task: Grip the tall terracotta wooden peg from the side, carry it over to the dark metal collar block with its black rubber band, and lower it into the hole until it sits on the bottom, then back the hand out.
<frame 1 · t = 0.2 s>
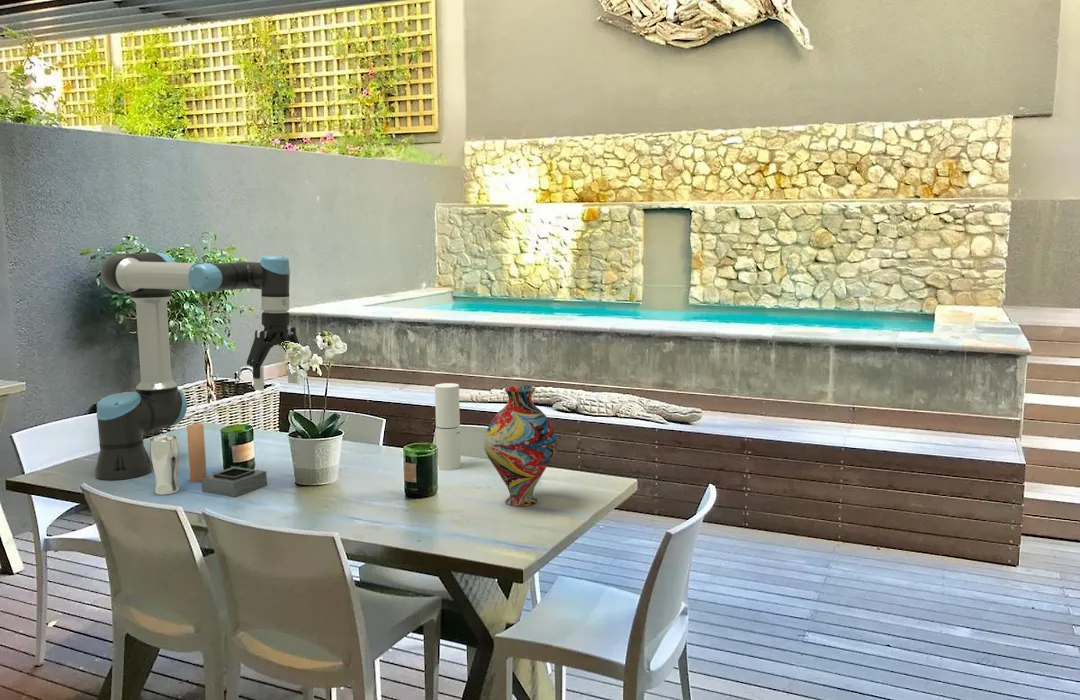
hand: (276, 386, 239), 27 cm above the table, fingers open, 13 cm apart
collar block: (235, 488, 235), on the table
beer glass: (167, 492, 233), on the table
cylindrical container: (448, 467, 255), on the table
terracotta peg: (198, 479, 244), on the table
vase: (521, 502, 222), on the table
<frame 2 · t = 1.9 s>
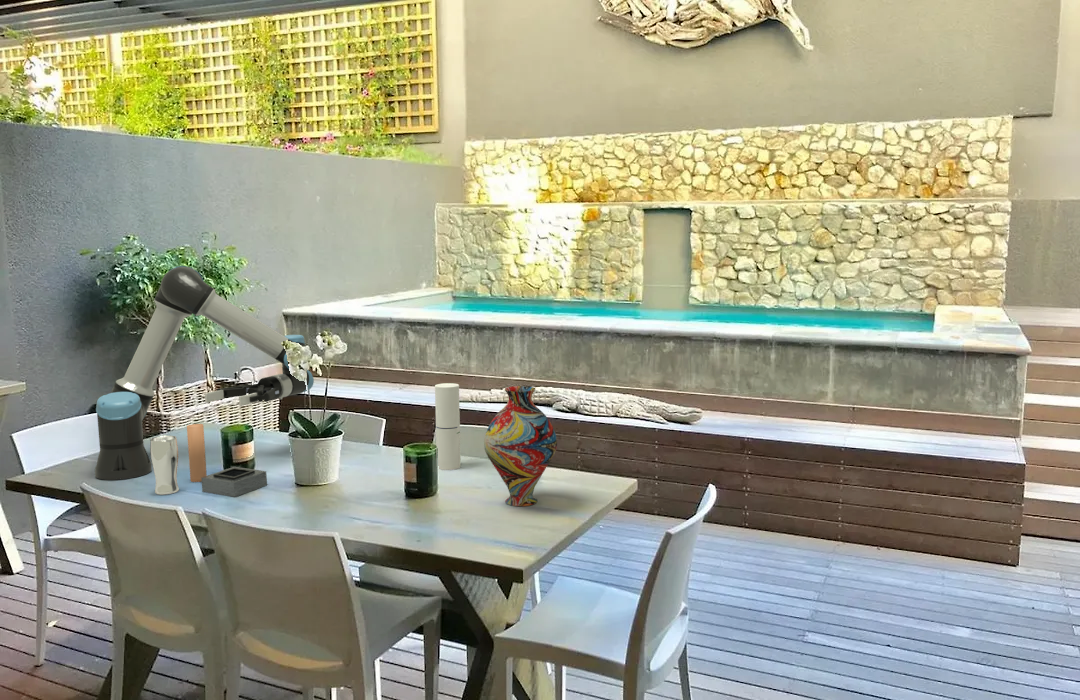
hand: (222, 399, 250), 22 cm above the table, fingers open, 13 cm apart
nothing on the table moved.
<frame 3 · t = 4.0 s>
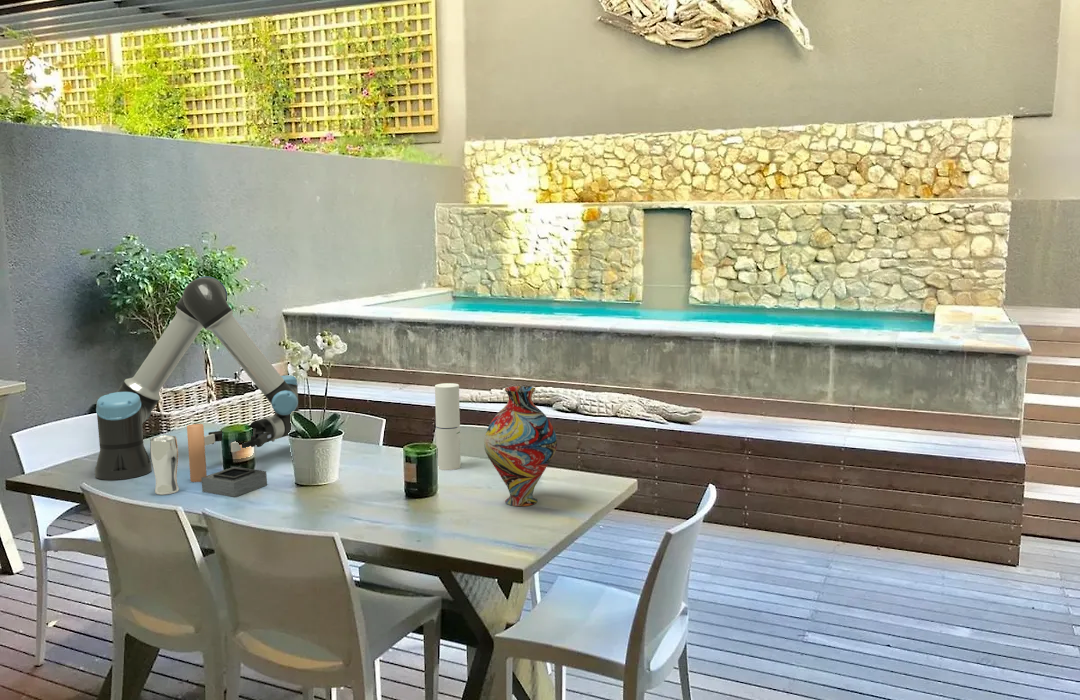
hand: (214, 445, 247), 9 cm above the table, fingers open, 13 cm apart
nothing on the table moved.
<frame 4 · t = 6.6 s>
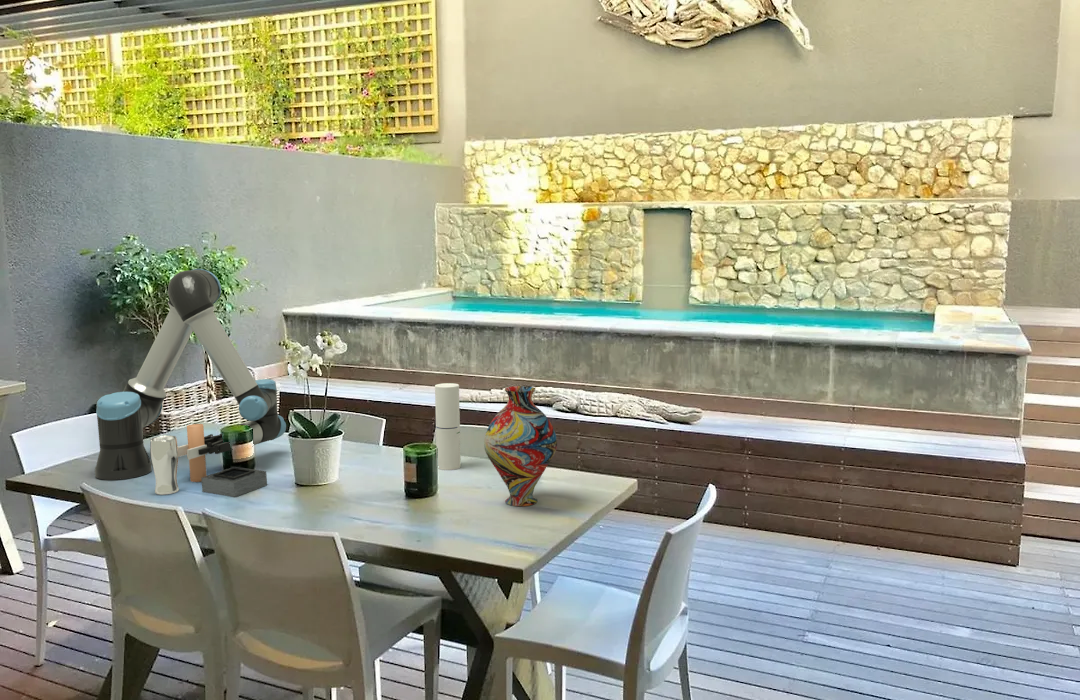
hand: (181, 453, 238), 9 cm above the table, fingers closed on terracotta peg, 4 cm apart
terracotta peg: (198, 479, 244), on the table, touching gripper
everything else where it was.
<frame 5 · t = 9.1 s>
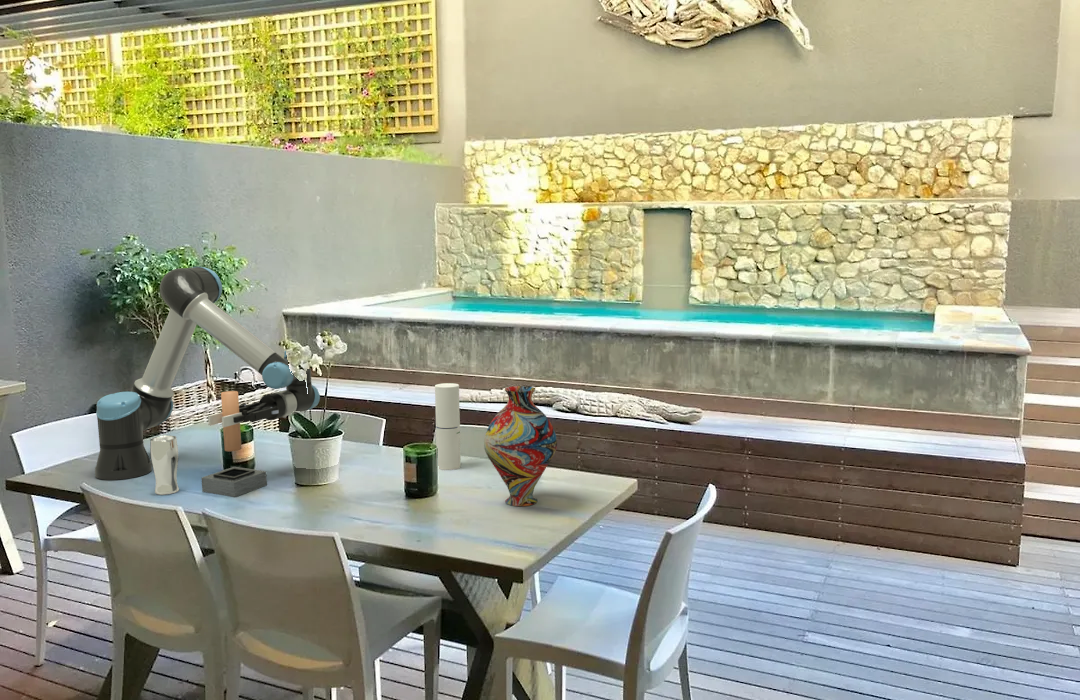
hand: (216, 421, 228), 20 cm above the table, fingers closed on terracotta peg, 4 cm apart
terracotta peg: (233, 449, 234), point 11 cm above the table, touching gripper
everything else where it was.
when the fingers open (10 cm above the table, at t = 11.6 s): terracotta peg drops 1 cm, resting in collar block.
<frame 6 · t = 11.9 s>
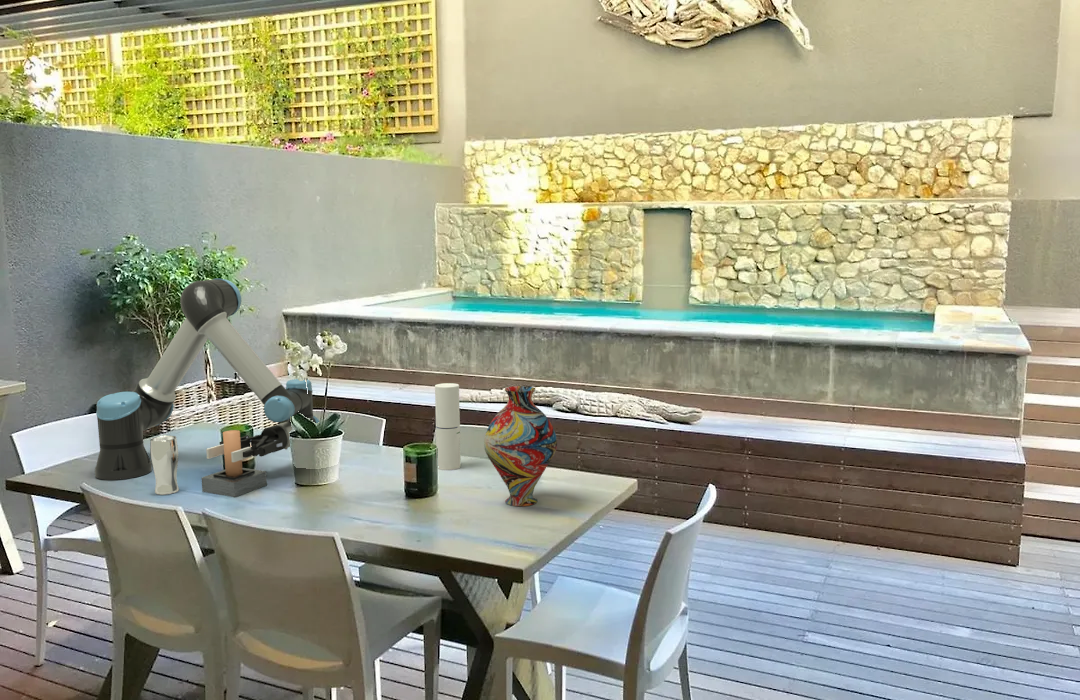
hand: (219, 455, 229), 10 cm above the table, fingers open, 8 cm apart
terracotta peg: (235, 488, 235), resting in collar block
everything else where it was.
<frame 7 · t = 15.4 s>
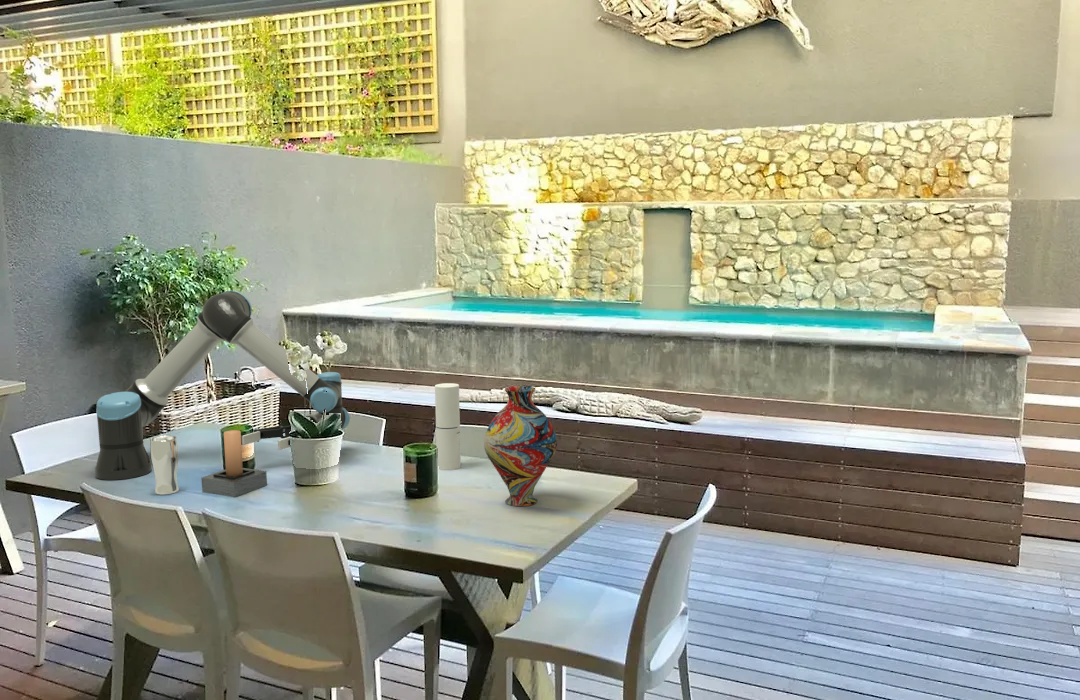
hand: (260, 442, 243), 11 cm above the table, fingers open, 13 cm apart
nothing on the table moved.
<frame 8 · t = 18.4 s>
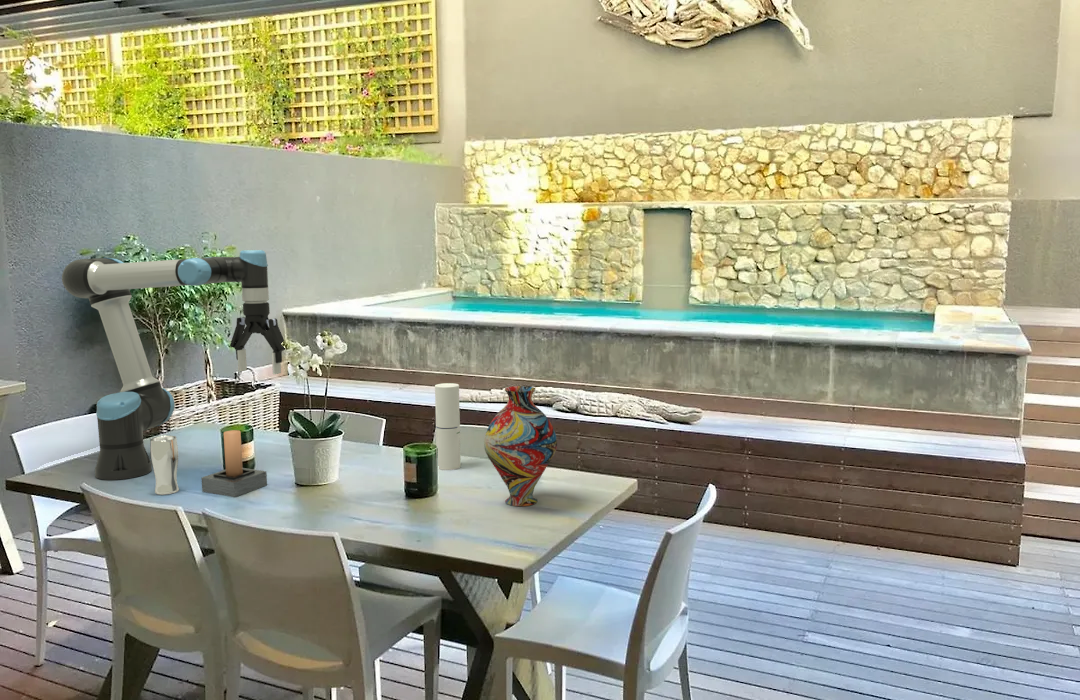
hand: (259, 372, 255), 29 cm above the table, fingers open, 13 cm apart
nothing on the table moved.
at the end: terracotta peg 0.1 cm off-centre on the collar block, point 0.0 cm above the collar block's base; terracotta peg tilted 0°; the gripper is holding nothing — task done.
